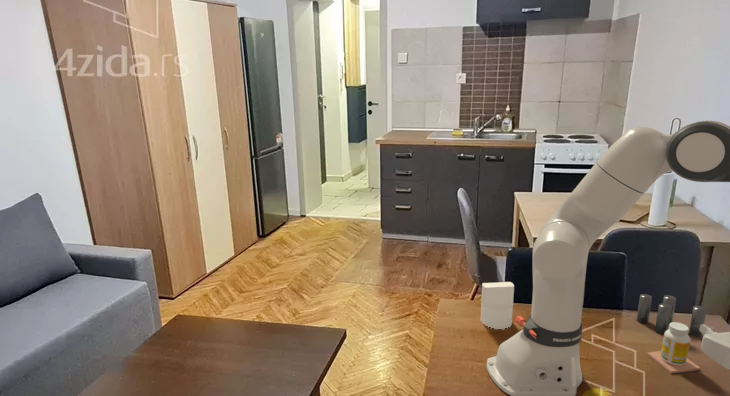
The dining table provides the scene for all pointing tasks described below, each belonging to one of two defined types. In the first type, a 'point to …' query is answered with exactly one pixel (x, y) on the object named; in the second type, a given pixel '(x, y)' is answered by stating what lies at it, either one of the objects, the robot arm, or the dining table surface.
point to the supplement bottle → (675, 344)
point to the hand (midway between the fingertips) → (721, 325)
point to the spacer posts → (669, 314)
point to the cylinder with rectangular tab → (497, 304)
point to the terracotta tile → (673, 368)
